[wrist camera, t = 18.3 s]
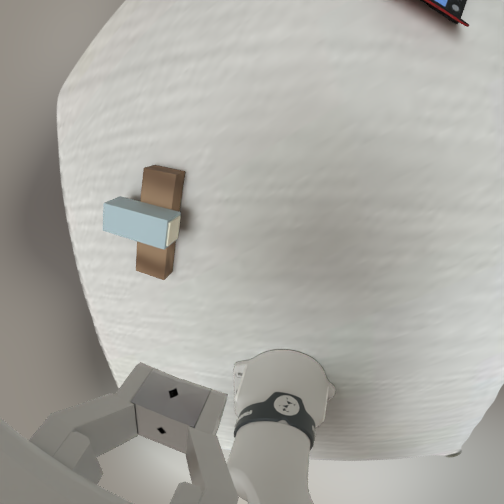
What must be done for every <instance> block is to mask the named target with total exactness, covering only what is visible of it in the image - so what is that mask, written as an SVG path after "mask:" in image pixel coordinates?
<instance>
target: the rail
mask: <svg viewBox="0 0 504 504" xmlns="http://www.w3.org/2000/svg"><path fill="white" fill-rule="evenodd" d="M184 177H185V171H181V170H176V169H171V168H167V167H162V166H157V165H153V166H149V167H145V168H144V172H143V180H142V190H141V200H140V202H144V203H148V204H152V205H155V206H159V207H163V208H167V209H171V210H175V211H178V212H179V211H180V204H181V197H182V190H183V183H184ZM175 243H176V241H174V242H173V243H172V244H171V245H170V246H168V247H167V248H166V249H165V250H164V249H160V248H157V247H154V246H151V245H147V244H144V243H141V242H138V241H137V256H136V271H139V272H142V273H145V274H148V275H150V276H153V277H156V278H159V279H162V280H165V279H166V278H167V277H168V276H169V275H170V274H171V273H172V270H173V261H174V251H175Z"/></svg>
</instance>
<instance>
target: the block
mask: <svg viewBox="0 0 504 504" xmlns="http://www.w3.org/2000/svg"><path fill="white" fill-rule="evenodd" d="M180 213H181V212H178V211H175V210H171V209H167V208H163V207H159V206H155V205H152V204H148V203H144V202H140V201H136V200H132V199H128V198H124V197H117V198H115V199H113V200H110V201H108V202H105V203H104V211H103V231H106V232H109V233H112V234H116V235H119V236H122V237H125V238H128V239H131V240H135V241H138V242H141V243H144V244H147V245H151V246H154V247H157V248H160V249H164V250H165V249H166V248H167V247H168V246H170V245H171V244H172V243H173V242H174V241H176V240H177V238H178V233H179V225H180V218H181V216H180Z"/></svg>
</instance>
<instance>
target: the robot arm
mask: <svg viewBox="0 0 504 504" xmlns="http://www.w3.org/2000/svg"><path fill="white" fill-rule="evenodd" d="M233 372H234V404H235V415H236V416H238V419H237V421H236V424H235V431H234V437H235V440H234V443H233V446H232V449H231V452H230V455H229V458H228V462H227V464H226V461H225V458H224V455H223V453H222V449H221V446H220V443H219V440H218V437H217V436H216V433H217V430H218V428H219V424H220V421H221V418H222V415H223V411H224V407H225V404H226V400H227V396H228V394H225V393H222V392H219V391H216V390H212V389H210V388H207V387H204V386H201V385H198V384H195V383H192V382H189V381H187V380H184V379H179V378H177V377H175V376H172V375H170V374H167V373H165V372H162V371H160V370H158V369H155V368H153V367H151V366H148V365H146V364H144V363H141V362H140V363H139V364H138V365H136V367H135V368H134V369H133V371H132V372H131V373H130V375H129V376H128V377H127V379H126V380H125V382H124V383H123V384H122V386H121V387H120V388H119V390H118V391H117V393H116V394H115V395H114V394H112V393H110V394H107V395H104V396H101V397H99V398H96V399H93V400H90V401H87V402H84V403H82V404H78V405H75V406H72V407H69V408H66V409H64V410H60V411H57V412H54V413H51V414H50V415H49V416H48V418H47V419H46V420H45V421H44V423H43V424H42V425H41V426H40V428H38V430H37V431H36V432H35V433H34V435H33V436H32V437H31V438H30V440H28V439H26V438H25V437H24V436H22V435H21V434H20V433H18V432H17V431H16V430H15V429H14V428H12V427H11V426H10V425H9V424H8V423H6V422H5V421H4V420H3V419H2V418H0V504H135V503H133V502H131V501H129V500H126V499H124V498H122V497H120V496H118V495H116V494H114V493H112V492H110V491H108V490H106V489H104V488H102V487H101V486H99V485H97V484H98V482H99V480H100V479H101V477H102V475H103V472H102V469H101V467H100V464H99V462H98V460H97V458H96V457H98V456H100V455H102V454H104V453H106V452H108V451H110V450H112V449H114V448H116V447H118V446H119V445H122V444H124V443H125V442H127V441H129V440H131V439H133V438H134V437H137V436H138V435H141V436H143V437H145V438H148V439H150V440H153V441H155V442H158V443H161V444H163V445H165V446H168V447H170V448H173V449H175V450H178V451H180V452H182V453H185V454H186V459H187V463H188V468H189V472H190V476H191V480H192V484H190V483H186V482H183V483H180V484H179V485H178V487H177V489H176V491H175V493H174V496H173V498H172V500H171V502H170V504H237V501H238V498H239V497H241V498H242V499H244V500H246V501H247V502H248V504H314V503H313V501H312V499H311V496H310V494H309V489H308V465H309V453H310V450H311V449H312V447H313V443H314V440H315V434H316V433H315V428H317V427H319V425H320V424H321V423H323V422H324V419H325V413H326V406H327V402H328V401H329V400H330V399H331V398H332V397H333V396H334V395H335V392H336V388H335V387H334V386H333V385H332V384H331V383H330V382H329V381H328V380H327V377H326V374H325V372H324V370H323V368H322V367H321V365H320V364H319V363H318V362H317V361H316V360H314V359H313V358H311V357H309V356H308V355H305V354H303V353H300V352H297V351H292V350H272V351H268V352H264V353H262V354H260V355H258V356H256V357H254V358H253V359H250V360H245V361H239V362H236V363H235V364H234V369H233ZM238 496H239V497H238Z"/></svg>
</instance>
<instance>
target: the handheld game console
mask: <svg viewBox="0 0 504 504" xmlns="http://www.w3.org/2000/svg"><path fill="white" fill-rule="evenodd" d="M421 1H422V2H424V3H426V4H427V5H429V7H431V8H432V9H434V10H436V11H437V12H439V13H440V14H442V15H443V16H445V17H447V18H448V19H449V20H450V21H452V22H453V23H455V24H457V23H459V22H460V23H461V24H463V25H465V26H467V27H468V26H469V24H468V23H466V22H465V21H463V20H462V19H461V16H462V13H463V10H464V7H465V4H466V1H467V0H421Z"/></svg>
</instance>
